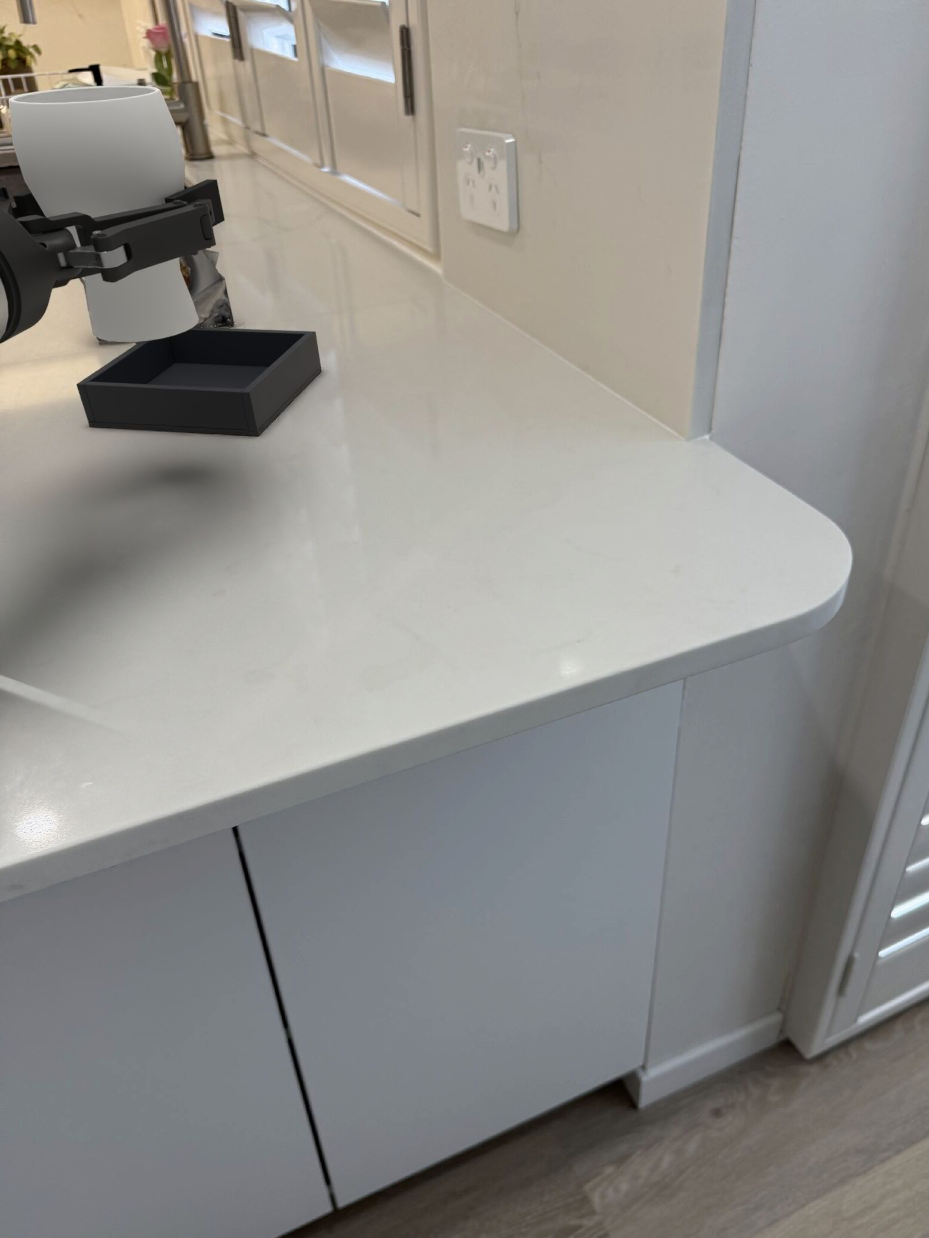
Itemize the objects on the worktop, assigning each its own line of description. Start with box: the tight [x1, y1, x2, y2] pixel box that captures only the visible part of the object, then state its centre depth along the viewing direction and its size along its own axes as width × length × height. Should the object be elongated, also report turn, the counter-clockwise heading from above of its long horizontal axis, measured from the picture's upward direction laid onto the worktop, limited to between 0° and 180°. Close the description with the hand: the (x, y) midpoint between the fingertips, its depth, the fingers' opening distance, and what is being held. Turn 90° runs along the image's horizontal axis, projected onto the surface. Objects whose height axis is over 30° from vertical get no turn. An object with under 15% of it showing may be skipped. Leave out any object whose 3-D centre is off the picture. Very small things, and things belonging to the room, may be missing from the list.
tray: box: [76, 327, 322, 437], centre depth 90 cm, size 17×17×4 cm
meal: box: [78, 248, 235, 344], centre depth 104 cm, size 15×4×13 cm, turn 115°
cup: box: [8, 85, 199, 343], centre depth 67 cm, size 11×11×15 cm
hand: (145, 199), depth 69 cm, fingers closed on cup, 11 cm apart
